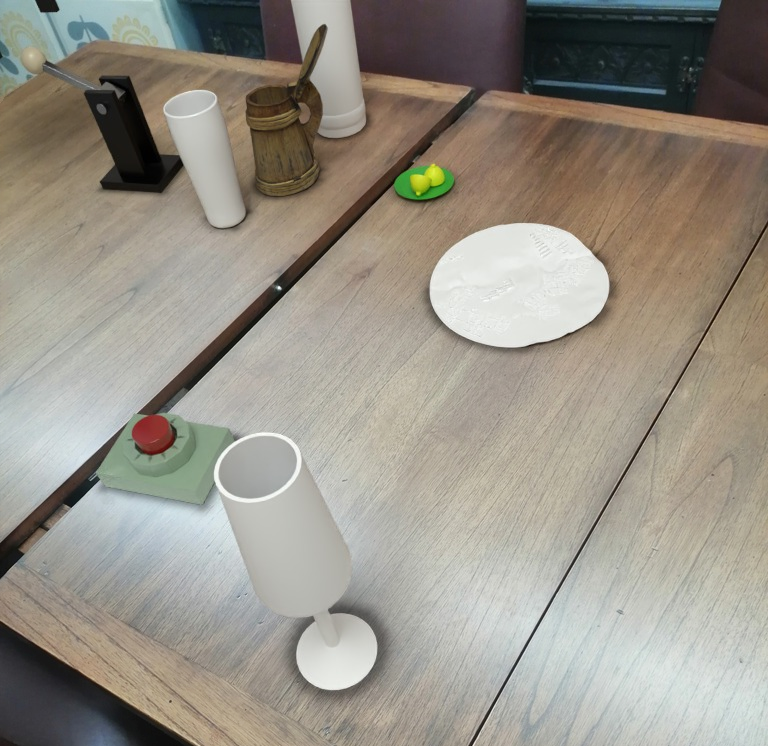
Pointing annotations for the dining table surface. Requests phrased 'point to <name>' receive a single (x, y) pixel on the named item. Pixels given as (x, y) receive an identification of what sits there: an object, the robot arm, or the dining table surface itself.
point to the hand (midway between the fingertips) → (22, 34)
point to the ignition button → (153, 434)
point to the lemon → (424, 182)
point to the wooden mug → (286, 128)
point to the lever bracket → (129, 140)
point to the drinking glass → (206, 154)
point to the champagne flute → (294, 554)
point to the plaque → (518, 285)
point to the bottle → (333, 64)
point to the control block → (167, 461)
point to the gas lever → (63, 73)
